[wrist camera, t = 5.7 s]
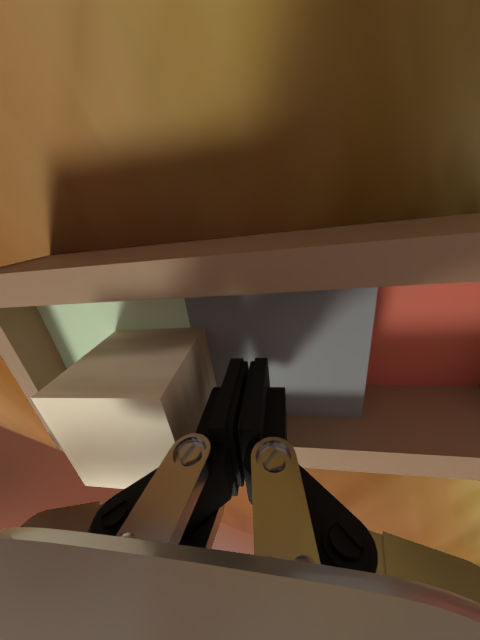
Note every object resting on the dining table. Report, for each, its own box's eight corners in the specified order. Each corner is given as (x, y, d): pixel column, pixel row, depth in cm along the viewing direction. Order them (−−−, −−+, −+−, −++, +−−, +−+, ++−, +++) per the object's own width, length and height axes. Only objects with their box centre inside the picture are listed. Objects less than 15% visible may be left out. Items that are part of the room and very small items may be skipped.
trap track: (49, 255, 15) (-47, 278, 11) (856, 174, 9) (1433, 148, 4) (108, 393, 20) (58, 449, 15) (668, 406, 13) (859, 508, 9)
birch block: (114, 331, 13) (30, 398, 9) (203, 326, 12) (160, 398, 8) (142, 402, 15) (85, 485, 11) (220, 403, 14) (193, 494, 10)
